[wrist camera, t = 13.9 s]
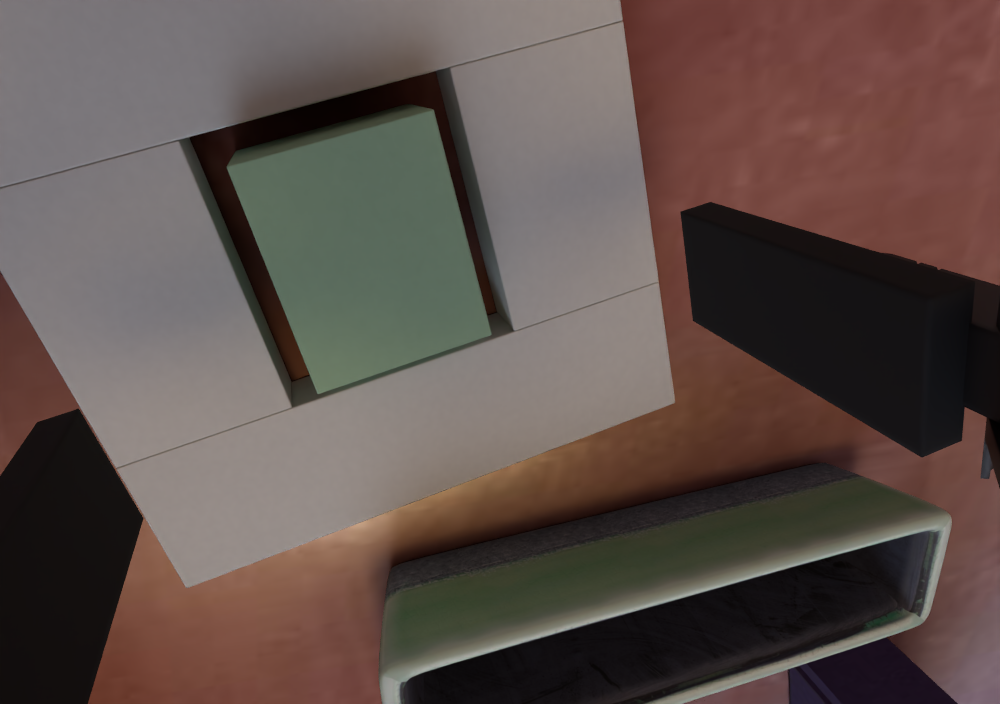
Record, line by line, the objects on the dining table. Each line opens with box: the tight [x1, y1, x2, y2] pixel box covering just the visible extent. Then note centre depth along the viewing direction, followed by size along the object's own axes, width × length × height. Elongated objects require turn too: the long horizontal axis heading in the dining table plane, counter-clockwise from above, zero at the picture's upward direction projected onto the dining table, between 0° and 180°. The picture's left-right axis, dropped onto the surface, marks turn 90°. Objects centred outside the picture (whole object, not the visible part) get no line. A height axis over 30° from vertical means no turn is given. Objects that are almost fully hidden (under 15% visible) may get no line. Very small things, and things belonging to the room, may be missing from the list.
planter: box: [379, 463, 952, 704], centre depth 33 cm, size 28×7×7 cm, turn 93°
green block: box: [227, 104, 492, 394], centre depth 24 cm, size 8×6×4 cm
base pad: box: [0, 0, 675, 588], centre depth 25 cm, size 22×22×2 cm
